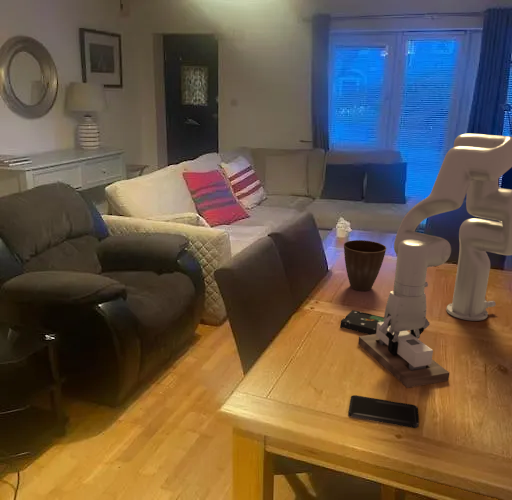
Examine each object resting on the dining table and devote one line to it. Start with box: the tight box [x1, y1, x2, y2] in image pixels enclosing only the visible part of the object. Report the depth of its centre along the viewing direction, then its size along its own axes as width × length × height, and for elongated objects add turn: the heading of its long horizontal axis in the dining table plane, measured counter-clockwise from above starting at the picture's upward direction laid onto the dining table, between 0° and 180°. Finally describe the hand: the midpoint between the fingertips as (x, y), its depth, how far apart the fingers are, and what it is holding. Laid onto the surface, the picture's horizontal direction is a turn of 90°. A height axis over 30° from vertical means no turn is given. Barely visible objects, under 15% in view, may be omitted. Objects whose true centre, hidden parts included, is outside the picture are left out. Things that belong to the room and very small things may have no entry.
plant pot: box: [343, 239, 387, 292], centre depth 187 cm, size 15×15×16 cm
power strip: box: [376, 322, 434, 371], centre depth 137 cm, size 5×18×7 cm, turn 19°
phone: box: [348, 394, 420, 429], centre depth 115 cm, size 8×1×15 cm
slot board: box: [358, 334, 450, 389], centre depth 137 cm, size 24×12×2 cm, turn 18°
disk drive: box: [339, 309, 384, 335], centre depth 157 cm, size 10×3×15 cm
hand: (401, 351), depth 137 cm, fingers closed on power strip, 5 cm apart
